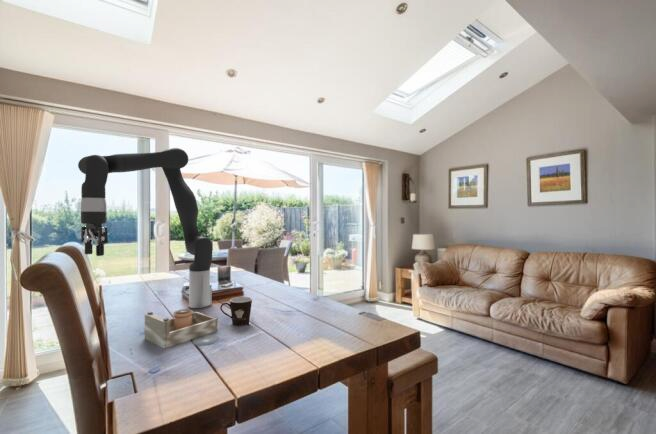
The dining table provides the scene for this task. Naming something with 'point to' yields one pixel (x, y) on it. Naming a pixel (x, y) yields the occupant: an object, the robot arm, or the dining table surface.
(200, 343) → the saucer
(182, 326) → the pot
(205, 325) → the wooden box
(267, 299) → the dining table surface
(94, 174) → the robot arm
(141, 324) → the dining table surface
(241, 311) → the coffee mug
